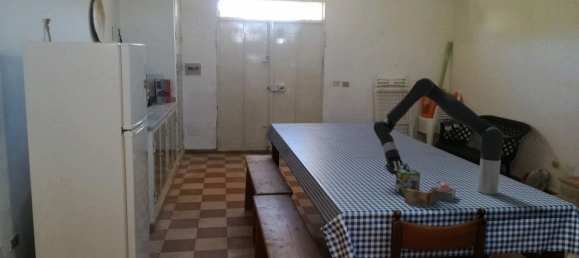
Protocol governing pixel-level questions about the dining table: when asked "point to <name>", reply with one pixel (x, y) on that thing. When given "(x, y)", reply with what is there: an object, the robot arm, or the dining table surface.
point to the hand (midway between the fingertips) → (401, 180)
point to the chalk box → (407, 180)
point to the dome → (444, 187)
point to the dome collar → (445, 194)
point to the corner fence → (420, 197)
